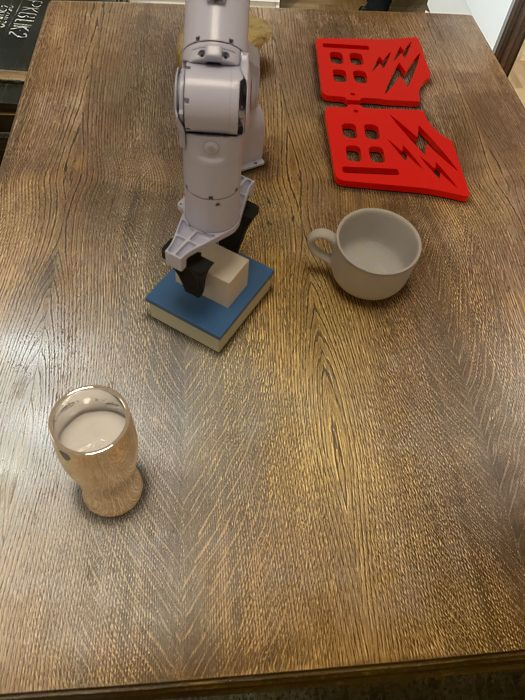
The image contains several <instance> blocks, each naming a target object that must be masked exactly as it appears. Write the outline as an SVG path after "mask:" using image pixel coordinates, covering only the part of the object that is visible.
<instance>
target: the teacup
mask: <svg viewBox="0 0 525 700" xmlns="http://www.w3.org/2000/svg"><path fill="white" fill-rule="evenodd" d="M317 240H325V241H327V242H328V243H329V246H330V249H331V253H330V252H328V251H326V250H324V249H322V248H320V246H319V245H317V244H316V241H317ZM306 246H307V249H308V252H309V253H310V254H311V255H313V256H314V257H315V258H316V259H318V260H320V261H321V262H323V263H324V264H325V265H326V267H329V268H330V270H331V273H332V276H333V278H334V280H335V282H336V283H337V284H338V286H339V287H340V288H341V289H342V290H343V291H345V292H346V293H348V294H349V295H351V296H353V297H355V298H358V299H361V300H366V301H380V300H385V299H387V298H390V297H392V296H394V295H396V294H397V293H398V292H399V291H400V290H401V289H402V288H403V287H404V286H405V285H406V283H407V282H408V281H409V278H410V276H411V275H412V272H413V270H414V268H415V265H416V264H417V263H418V261H419V259H420V258H421V255H422V250H423V243H422V239H421V236H420V234H419V232H418V230H417V228H416V227H415V226H414V225H413V224H412V223H411V222H410V221H409V220H407V219H406V218H404V217H403V216H402V215H400V214H398V213H396V212H393V211H391V210H388V209H385V208H379V207H365V208H359V209H356V210H353V211H351V212H350V213H347V214H346V215H345V216H344V217H343V218H342V219H341V220H340V222H339V224H338V225H337V228H336V232H334V231H332V230H331V229H328V228H325V227H319V228H315V229H313V230H312V231H311V232H309V234H308V236H307V239H306Z"/></svg>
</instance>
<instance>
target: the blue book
mask: <svg viewBox="0 0 525 700" xmlns="http://www.w3.org/2000/svg"><path fill="white" fill-rule="evenodd" d="M216 244H218V245H219V242H216ZM238 255H240V256H242V257H244V258H246V259H249V268H248V281H247V286H246V287H245V288H244V290H243V291H242V292H241V293H240V294H239V296H238V297H237V298H236V299H235V301H234V302H233V303H232V304H231V305H230V307H229V308H226V307H224V306H222V305H220V304H219V303H217V302H215V301H213V300H211V299H209V298H207V297H205V296H203V295H201V297H200V298H197V297H195V296H194V295H192V294H190V293H188V292H186V291H185V289H184V287H183V285H182V284H180V283H178V282H176V276H175V270H174V269H173V268H171V269H170V270H169V272H167V274H166V275H165V276H163V278H161V280H160V281H159V282H158V283H157V284H156V285H155V286H154V287H153V288H152V289H151V290H150V291H149V292H148V293H147V294H146V296H145V297H144V298H145V299H144V301H145V302H147V303H148V305H149V311H150V317H152V318H153V319H156V320H158V321H160V322H161V323H162V324H164V325H166V326H169V327H171V328H173V329H174V330H176V331H178V332H180V333H182V334H184V336H185V335H186V336H187V337H189V338H190V339H193V340H195V341H196V342H198V343H200V344H203V345H204V346H206V347H207V348H210V349H211V350H213V351H215V352H217V353H220V352H221V351H222V349H223V348H224V347H225V345H226V344H227V343H228V342H229V341H230V339H231V338H232V337H233V335H234V334H235V333H236V331H237V330H239V328H240V327H241V325H243V323H244V322H245V320H246V319H247V318H248V317H249V315H250V314H252V312H253V310H254V309H255V307H257V305H259V303H260V301H261V300H262V299H263V298H264V296H265V295H266V294H267V293H268V291H269V290H270V285H271V284H270V283H271V278H272V277H273V275H275V271H276V270H275V268H272V267H271V266H268V265H266V264H263V263H262V262H259V261H258V260H255V259H253V258H252V257H249V256H248V255H246V254H243V253H241V252H240V251H239V252H238Z"/></svg>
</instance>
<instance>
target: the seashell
mask: <svg viewBox="0 0 525 700" xmlns="http://www.w3.org/2000/svg"><path fill="white" fill-rule="evenodd" d="M183 35H184V26H183V28H182V29H180V31H179V34H178V37H177V39H176V44H175V59H176V63H177V67H180V71H181V68H182V55H183ZM272 36H274V26H273V25H270V23H269V22H268V21H267V20H266V19H264V18H263V17H258V16H257V15H255V14H254V13H253V12H249V32H248V41H249V42H250V43H252V44H253V45H254V46H255V47H257V48H258V52H260V51H261V48H262V47H263V46H264V45H265V44H266V43H267V42H269V41H270V39H271V38H272Z"/></svg>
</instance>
